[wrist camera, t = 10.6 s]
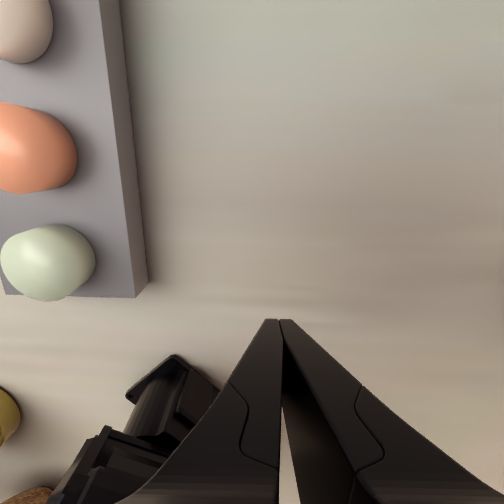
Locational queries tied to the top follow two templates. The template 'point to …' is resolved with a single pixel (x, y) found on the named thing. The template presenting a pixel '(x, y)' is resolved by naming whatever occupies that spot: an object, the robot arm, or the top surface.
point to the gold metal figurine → (7, 417)
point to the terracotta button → (33, 151)
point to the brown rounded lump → (31, 496)
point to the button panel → (84, 145)
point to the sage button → (47, 261)
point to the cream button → (24, 29)
